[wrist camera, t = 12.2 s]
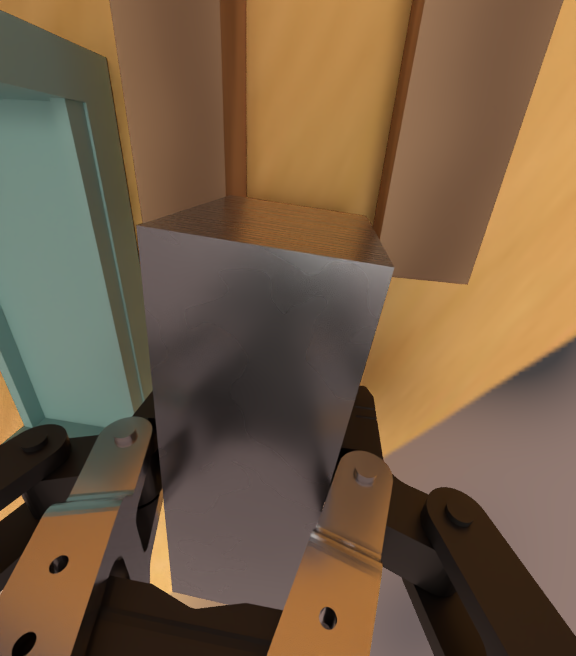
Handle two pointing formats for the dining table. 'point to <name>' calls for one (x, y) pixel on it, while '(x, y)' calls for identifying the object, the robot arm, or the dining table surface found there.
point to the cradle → (66, 240)
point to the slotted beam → (406, 126)
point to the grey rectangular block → (254, 380)
